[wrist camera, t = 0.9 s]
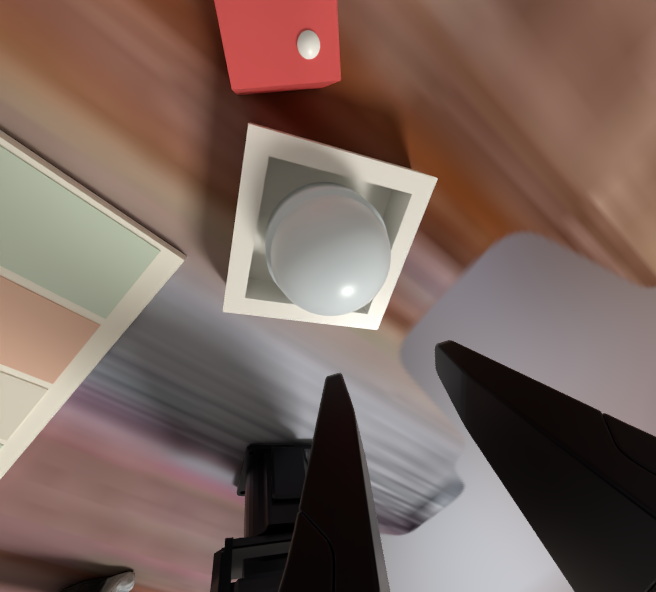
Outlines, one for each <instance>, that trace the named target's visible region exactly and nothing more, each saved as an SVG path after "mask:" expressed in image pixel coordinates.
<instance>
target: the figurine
mask: <svg viewBox="0 0 656 592" xmlns="http://www.w3.org/2000/svg"><path fill="white" fill-rule="evenodd" d="M134 583H135V573H133V572H125V573H122V574H118V575H116V576H112V577H108V578H99V579H92V580H87V581H83V582H81V583H79V584H77V585H74V586H71V587H69V588H66V589H64V590H62V591H60V592H128V591H130V590H131V589H132V588H133V586H134Z"/></svg>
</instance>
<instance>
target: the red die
mask: <svg viewBox="0 0 656 592" xmlns="http://www.w3.org/2000/svg"><path fill="white" fill-rule="evenodd" d="M214 2H215V7H216V12H217V17H218V22H219V27H220V32H221V37H222V42H223V47H224V53H225V58H226V63H227V68H228V73H229V78H230V83H231V88H232V90H233V91H234V92H235V93H236V94H237V95H247V94H258V93H270V92H282V91H293V90H305V89H316V88H323V87H326V86H328V85H331V84H333V83H336V82H338V81H341V71H340V51H339V31H338V12H337V0H214Z"/></svg>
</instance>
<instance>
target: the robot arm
mask: <svg viewBox="0 0 656 592" xmlns="http://www.w3.org/2000/svg"><path fill="white" fill-rule="evenodd" d="M435 366H436V371H437V373H438V376H439V378H440V380H441V382H442V384H443V385H444V387H445V389H446V391H447V393H448V395H449V397H450V399H451V401H452V403H453V405H454V407H455V408H456V411H457V412H458V414H459V416H460V418H461V420H462V422H463V423H464V425H465V427H466V429H467V430H468V432H469V434H470V435H471V437H472V438H473V440H474V441H475V442H476V444H477V446H478V447H479V448H480V450H481V452H482V453H483V455H484V456H485V457H486V459H487V461H488V462H489V464H490V465H491V467H492V468H493V470H494V471H495V473H496V474H497V475H498V477H499V479H500V480H501V482H502V483H503V485H504V486H505V488H506V489H507V491H508V492H509V494H510V495H511V497H512V498H513V500H514V501H515V503H516V504H517V506H518V507H519V509H520V510H521V512H522V513H523V514H524V516H525V518H526V519H527V521H528V522H529V524H530V525H531V526H532V528H533V530H534V531H535V532H536V534H537V536H538V537H539V539H540V540H541V542H542V543H543V545H544V546H545V548H546V549H547V551H548V552H549V554H550V555H551V557H552V558H553V560H554V561H555V563H556V564H557V566H558V567H559V569H560V570H561V572H562V573H563V575H564V576H565V578H566V579H567V580H568V582H569V584H570V585H571V587H572V588H573V590H574V591H575V592H656V437H655V436H653V435H651V434H649V433H646V432H644V431H642V430H640V429H638V428H636V427H633V426H631V425H629V424H627V423H625V422H623V421H621V420H618V419H616V418H614V417H612V416H610V415H608V414H605V413H604V414H602V413H601V411H599V410H597V409H595V408H593V407H591V406H589V405H587V404H584V403H582V402H580V401H578V400H576V399H574V398H572V397H570V396H568V395H565V394H563V393H561V392H559V391H557V390H555V389H553V388H551V387H549V386H546V385H544V384H542V383H540V382H538V381H536V380H534V379H532V378H530V377H527V376H525V375H523V374H521V373H519V372H517V371H515V370H513V369H511V368H508V367H507V366H504V365H502V364H500V363H498V362H496V361H494V360H492V359H490V358H488V357H486V356H483V355H481V354H479V353H477V352H475V351H473V350H471V349H469V348H467V347H464V346H462V345H460V344H458V343H456V342H454V341H450V340H448V341H445V342H441V343H438V344H436V346H435ZM237 495H239V496H245V518H244V538H237V539H233V537H232V538H225V548H222V549H221V550H219V551H218V552H216V553H214V560H213V571H212V580H211V589H210V592H390V588H389V582H388V577H387V571H386V566H385V560H384V554H383V549H382V544H381V538H380V532H379V527H378V522H377V516H376V511H375V505H374V500H373V494H372V489H371V483H370V478H369V472H368V467H367V462H366V457H365V453H364V449H363V445H362V441H361V436H360V432H359V428H358V424H357V420H356V416H355V412H354V408H353V405H352V402H351V399H350V396H349V393H348V390H347V387H346V384H345V382H344V379H343V376H342V374H341V373H337V374H333V375H330V376H327V377H326V379H325V384H324V389H323V393H322V398H321V403H320V408H319V413H318V418H317V422H316V427H315V432H314V437H313V442H312V445H249V446H248V447H247V448H246V451H245V456H244V460H243V465H242V469H241V474H240V478H239V482H238V487H237ZM238 578H240V579H238ZM232 579H238V580H237V581H236V582H233V583H231V580H232Z"/></svg>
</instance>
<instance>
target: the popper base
mask: <svg viewBox="0 0 656 592" xmlns="http://www.w3.org/2000/svg"><path fill="white" fill-rule="evenodd" d="M437 179H438V178H436V177H433V176H430V175H427V174H424V173H422V172H419V171H416V170H413V169H410V168H406V167H403V166H400V165H396V164H393V163H389V162H386V161H382V160H379V159H375V158H372V157H369V156H365V155H362V154H358V153H355V152H351V151H348V150H344V149H341V148H338V147H334V146H331V145H327V144H324V143H320V142H317V141H313V140H310V139H307V138H303V137H300V136H296V135H293V134H289V133H286V132H282V131H279V130H276V129H272V128H269V127H265V126H262V125H258V124H255V123H251V122H249V123H248V130H247V137H246V144H245V152H244V159H243V166H242V174H241V181H240V188H239V196H238V203H237V210H236V218H235V225H234V232H233V240H232V247H231V254H230V262H229V269H228V276H227V283H226V291H225V298H224V305H223V312H228V313H237V314H245V315H254V316H262V317H271V318H279V319H288V320H296V321H305V322H313V323H322V324H330V325H339V326H347V327H356V328H364V329H373V330H378V327H379V325H380V322H381V320H382V317H383V315H384V312H385V310H386V307H387V305H388V302H389V300H390V297H391V295H392V292H393V290H394V287H395V285H396V282H397V279H398V277H399V274H400V272H401V269H402V267H403V264H404V262H405V259H406V257H407V254H408V252H409V249H410V247H411V244H412V242H413V239H414V237H415V234H416V232H417V229H418V227H419V224H420V222H421V219H422V217H423V214H424V212H425V209H426V207H427V204H428V202H429V199H430V197H431V194H432V192H433V189H434V187H435V184H436V181H437ZM316 182H332V183H337V184H341V185H344V186H346V187H348V188H350V189H352V190H353V191H355V192H356V193H358V194H359V195H360V196H362V197H363V198H364V199H365V200H367V201H368V202H369V203H370V204H371V205H372V206H373V207H374V208H375V209H376V210H377V211H378V213H379V214H380V216H381V218H382V219H383V221H384V224H385V227H386V230H387V234H388V238H389V242H390V249H391V263H390V269H389V272H388V275H387V278H386V281H385V283H384V285H383V286H382V288H381V290H380V291H379V292H378V293H377V295H376V296H375V297H374V298H373V299H372V300H371V301H370V302H369V303H367V304H366V305H365V306H363V307H362V308H360V309H358V310H356V311H353V312H351V313H348V314H344V315H338V316H322V315H317V314H314V313H311V312H308V311H306V310H304V309H301V308H300V307H298V306H297V305H295V304H294V303H293V302H292V301H291V300H289V299H288V298H287V297H286V295H285V294H284V293H283V292H282V291H281V289H280V288H279V287H278V286H277V285H276V283H275V282H274V280H273V279H272V277H271V275H270V272H269V269H268V266H267V261H266V250H265V232H266V227H267V223H268V220H269V218H270V215H271V214H272V212H273V210H274V208H275V207H276V206H277V205H278V203H279V202H280V201H281V200H282V199H283V198H284V197H285V196H286V195H288V194H289V193H290V192H292V191H293V190H295V189H297V188H299V187H301V186H304V185H307V184H311V183H316Z"/></svg>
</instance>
